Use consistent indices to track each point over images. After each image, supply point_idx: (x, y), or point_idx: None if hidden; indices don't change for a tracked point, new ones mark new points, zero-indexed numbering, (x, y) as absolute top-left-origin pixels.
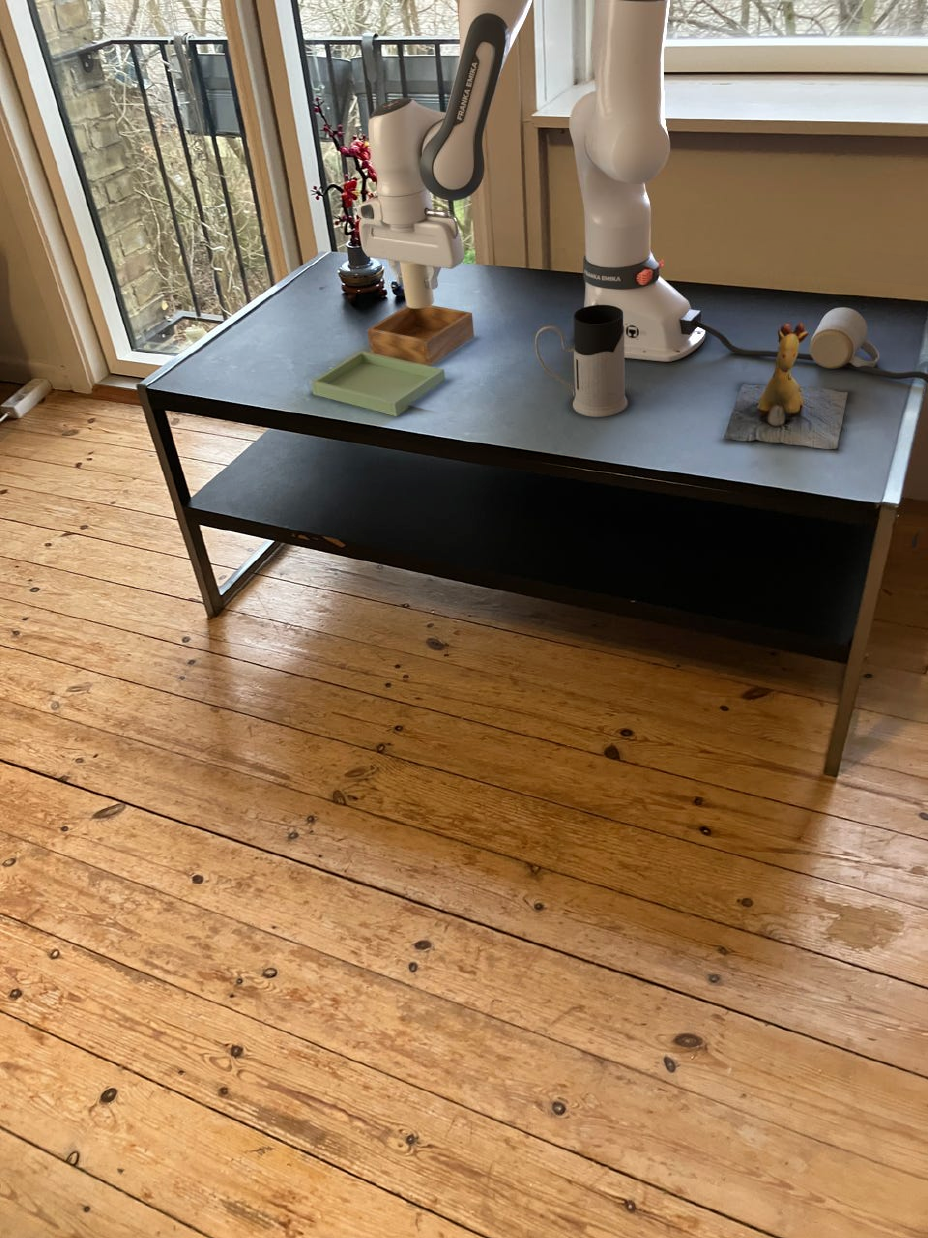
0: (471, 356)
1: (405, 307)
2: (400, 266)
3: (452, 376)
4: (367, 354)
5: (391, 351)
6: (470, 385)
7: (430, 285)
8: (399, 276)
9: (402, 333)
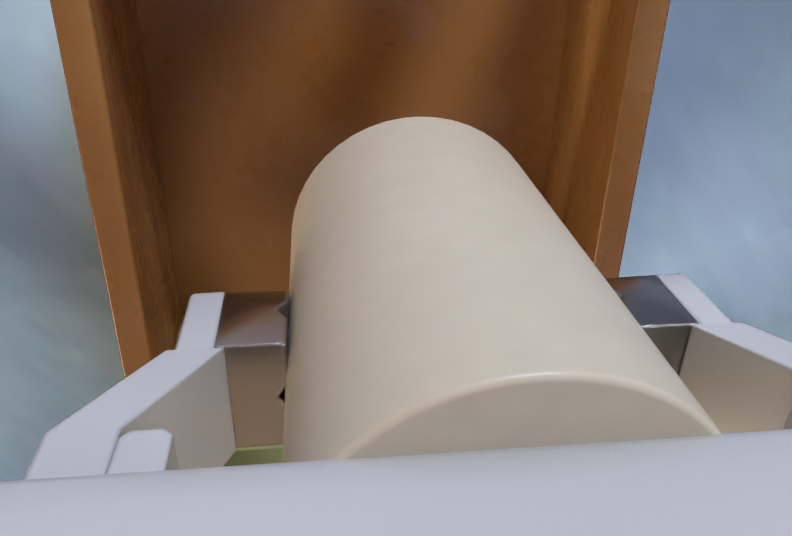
0: (681, 105)
1: (73, 20)
2: (170, 417)
3: None
4: (244, 449)
5: None
6: (784, 338)
7: None
8: (246, 440)
9: (146, 86)
